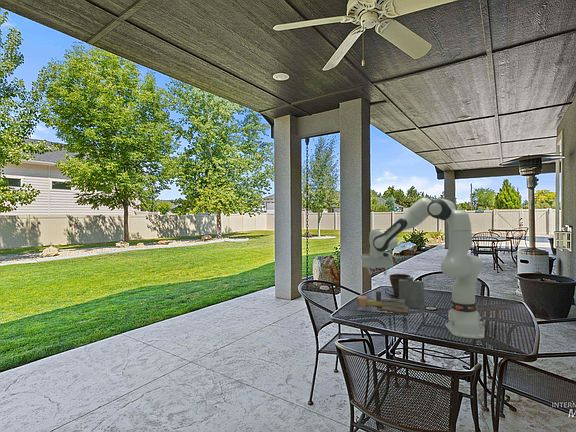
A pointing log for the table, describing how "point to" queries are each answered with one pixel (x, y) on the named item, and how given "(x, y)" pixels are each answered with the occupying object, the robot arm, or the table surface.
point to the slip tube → (375, 302)
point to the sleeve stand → (393, 306)
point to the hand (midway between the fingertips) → (377, 274)
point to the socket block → (362, 301)
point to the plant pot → (397, 282)
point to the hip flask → (412, 293)
